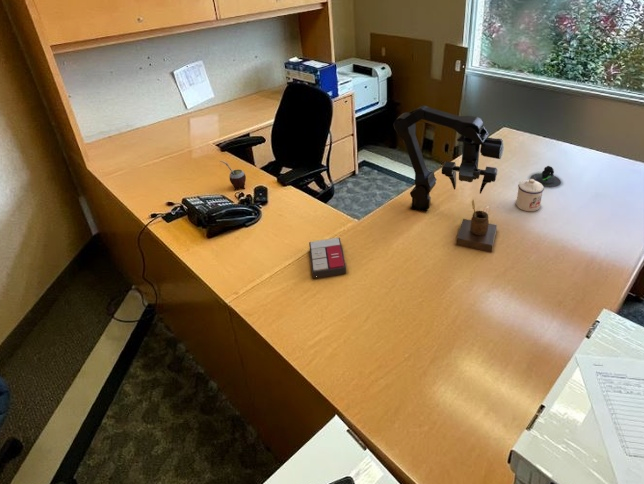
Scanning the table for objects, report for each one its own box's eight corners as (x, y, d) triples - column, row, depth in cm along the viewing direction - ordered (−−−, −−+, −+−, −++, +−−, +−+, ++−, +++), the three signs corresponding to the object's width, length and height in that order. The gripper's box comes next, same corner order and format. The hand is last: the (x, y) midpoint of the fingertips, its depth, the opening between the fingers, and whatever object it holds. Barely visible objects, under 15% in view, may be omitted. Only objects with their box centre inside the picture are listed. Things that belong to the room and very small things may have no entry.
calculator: (312, 271, 132) (308, 240, 145) (313, 280, 135) (309, 249, 147) (345, 265, 133) (339, 235, 146) (346, 275, 136) (340, 244, 148)
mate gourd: (250, 185, 189) (244, 156, 182) (238, 193, 184) (231, 164, 176) (239, 181, 193) (232, 153, 186) (226, 189, 187) (219, 160, 180)
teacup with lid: (531, 215, 157) (536, 188, 151) (510, 205, 163) (514, 179, 157) (549, 203, 163) (554, 177, 157) (528, 193, 169) (532, 169, 163)
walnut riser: (456, 244, 145) (456, 237, 143) (462, 225, 154) (463, 218, 153) (491, 252, 140) (492, 245, 139) (496, 231, 150) (497, 224, 148)
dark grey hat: (565, 186, 172) (571, 161, 166) (536, 188, 173) (541, 162, 167) (553, 172, 182) (558, 148, 177) (526, 173, 183) (530, 149, 177)
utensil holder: (485, 238, 142) (488, 209, 136) (466, 232, 145) (469, 204, 139) (489, 228, 146) (493, 200, 140) (472, 223, 149) (474, 196, 144)
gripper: (438, 160, 142) (437, 198, 149) (495, 167, 134) (490, 207, 142) (445, 146, 150) (444, 183, 158) (499, 152, 143) (495, 191, 151)
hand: (467, 191), depth 152 cm, fingers open, 9 cm apart
